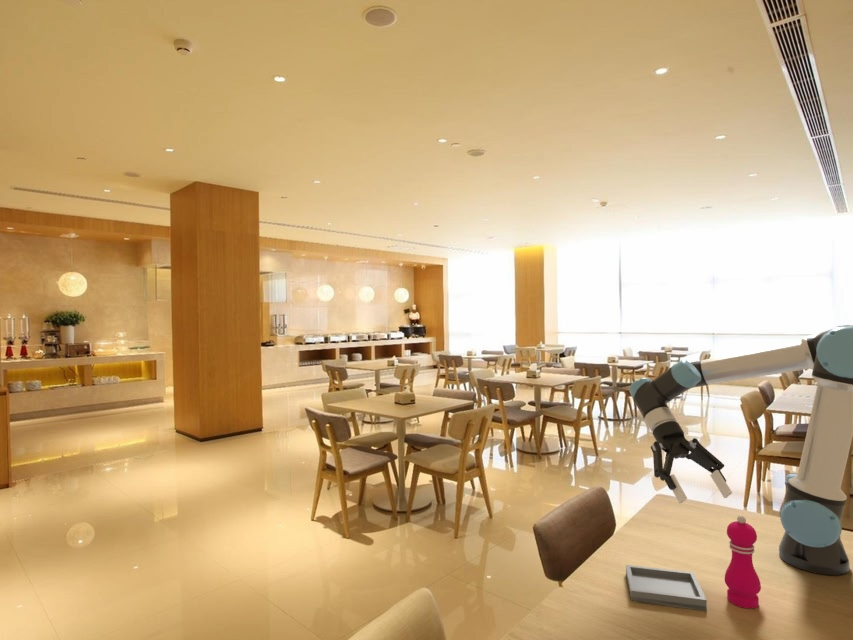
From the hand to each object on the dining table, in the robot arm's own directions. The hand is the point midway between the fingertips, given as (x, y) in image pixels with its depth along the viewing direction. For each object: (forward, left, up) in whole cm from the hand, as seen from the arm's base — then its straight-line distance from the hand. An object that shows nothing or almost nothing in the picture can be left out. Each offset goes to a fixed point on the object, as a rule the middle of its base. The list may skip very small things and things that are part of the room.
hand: (706, 498), depth 129 cm
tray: (+12, +9, -21) cm, 25 cm away
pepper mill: (-5, +9, -21) cm, 23 cm away
